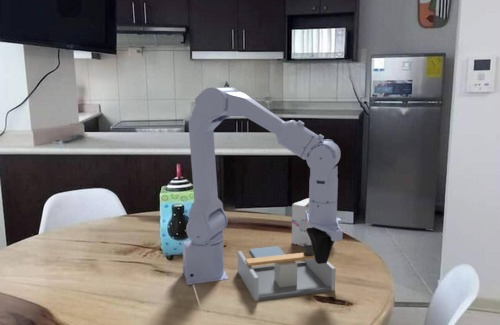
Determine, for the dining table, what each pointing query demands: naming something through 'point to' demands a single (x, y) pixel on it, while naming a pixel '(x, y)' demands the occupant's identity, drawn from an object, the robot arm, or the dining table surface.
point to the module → (285, 273)
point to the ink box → (300, 222)
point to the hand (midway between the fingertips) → (321, 262)
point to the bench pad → (266, 251)
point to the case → (308, 282)
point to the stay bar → (283, 257)
